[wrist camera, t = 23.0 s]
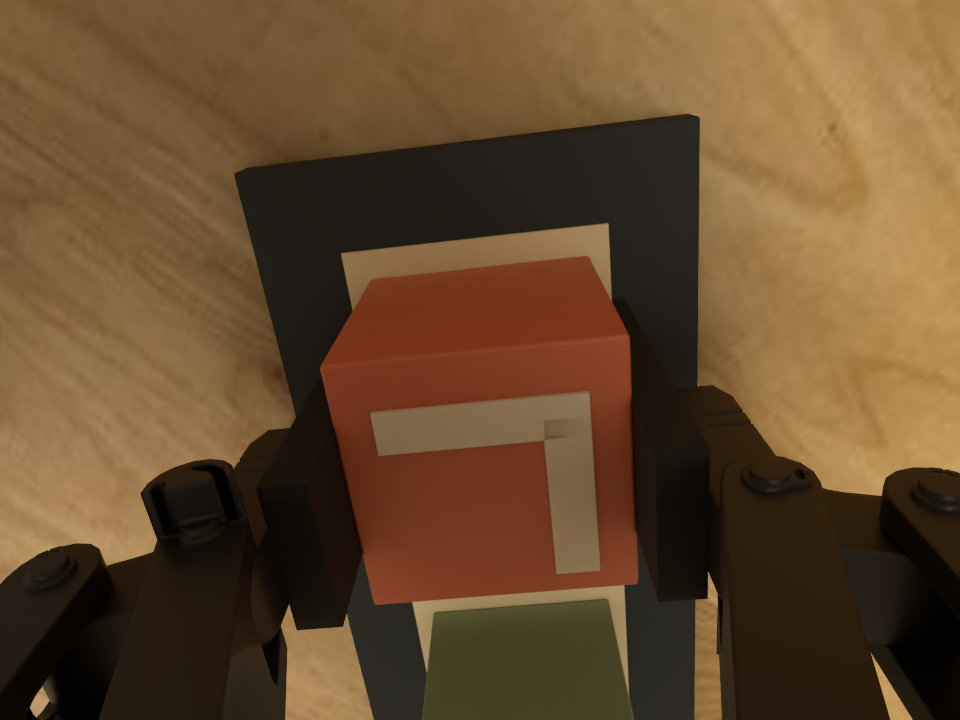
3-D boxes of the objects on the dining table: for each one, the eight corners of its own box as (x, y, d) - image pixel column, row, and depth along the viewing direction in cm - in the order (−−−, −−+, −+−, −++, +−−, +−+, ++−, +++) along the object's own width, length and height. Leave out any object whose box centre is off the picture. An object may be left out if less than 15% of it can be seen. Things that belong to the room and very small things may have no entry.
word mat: (245, 168, 16) (231, 174, 15) (690, 113, 15) (701, 116, 14) (393, 762, 23) (389, 787, 23) (687, 742, 23) (695, 768, 22)
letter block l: (370, 278, 16) (316, 368, 11) (589, 255, 15) (631, 336, 11) (404, 465, 18) (372, 610, 13) (600, 447, 17) (640, 589, 13)
